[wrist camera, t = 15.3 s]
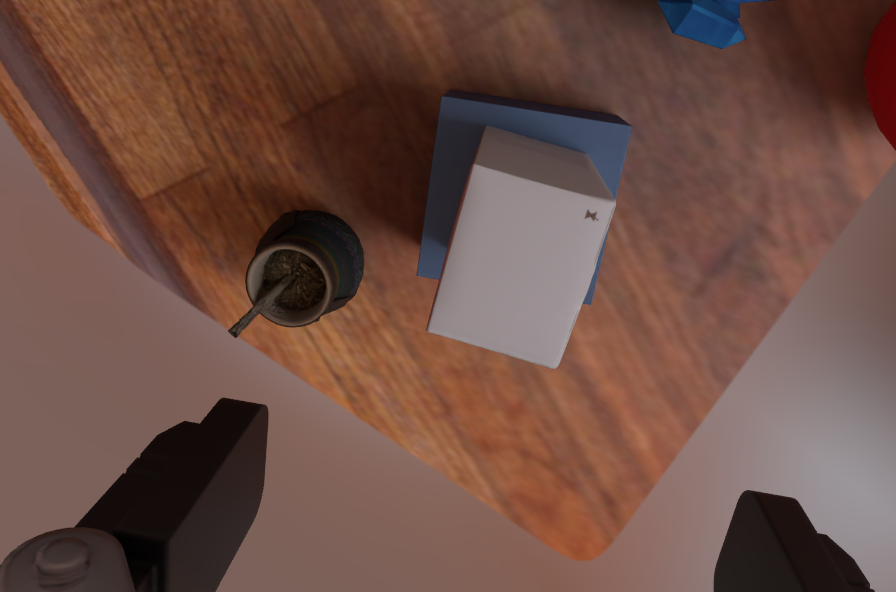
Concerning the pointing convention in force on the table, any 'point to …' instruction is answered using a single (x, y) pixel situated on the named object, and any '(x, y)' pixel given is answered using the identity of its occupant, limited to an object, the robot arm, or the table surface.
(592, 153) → the blue square block
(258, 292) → the mate gourd
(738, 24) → the crystal
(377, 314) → the table surface
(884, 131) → the tomato
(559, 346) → the small box
